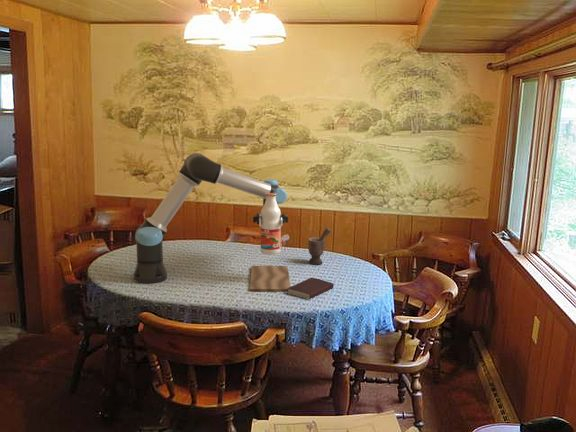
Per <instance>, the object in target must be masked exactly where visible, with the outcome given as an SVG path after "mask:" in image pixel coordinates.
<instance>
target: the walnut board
mask: <svg viewBox="0 0 576 432" xmlns="http://www.w3.org/2000/svg"><path fill="white" fill-rule="evenodd" d="M291 286H292V285H291V280H290V274H289V268H288V265H251V275H250V290H249V291H250V292H252V293H253V292H255V293H256V292H257V293H259V292H260V293H262V292H263V293H264V292H268V293H269V292H270V293H274V292H275V293H278V292H280V293H282V292H283V293H288V288H289V287H291Z"/></svg>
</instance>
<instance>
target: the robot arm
mask: <svg viewBox="0 0 576 432" xmlns="http://www.w3.org/2000/svg"><path fill="white" fill-rule="evenodd" d="M178 176H179V177H178V178H177V180H176V181H175V182H174V184H173V186H171V188H170V189H169V191H168V192H167V194H166V195H165V197H164V198H163V199H162V201H161V202H160V204H159V205H158V207H157V208H156V210H155V211H154V213H153V214H152V215H151V216H150V217H147V218H146V219H145V220H144V221H143V223H142V224H141V225H140V226H138V227H137V229H136V231H135V233H134V239H135V243H136V244H135V245H136V267H135V269H134V273H133V280H136V281H138V282H137V283H139V282H144V283H143V284H157V283H161V282H164V281H165V279H166V280H167V279H168V272H167V269H166V266H165V264H164V260H163V259H164V257H163V256H164V255H163V254H164V253H163V252H164V251H163V250H164V249H163V248H164V247H163V239H164V236H165V235H166V234H167V232H168V229H167V226H168V225H169V223H170V222H171V221H172V219H173V218H174V216H175V215H176V213H177V212H178V211H179V210H180V208H181V206H182V205H183V204H184V203H185V201H186V199H187V198H188V196H189V195H190V193H192V190H193V189H194V188H195V187H198V186H200V184H201V183H202V182H208V183H210V184H213V185H216V184H220V185H224V186H227V187H229V188H233V189H235V190H238V191H241V192H244V193H247V194H250V195H254V196H256V197H259V198H262V199H263V200H262V207H263V206H264V204H265V201H266V193H276V202H277V205H278V206H279V205H281V204H284V203H285V202H286V200H287V199H288V194H287V191H286V190H285V189H284V188H282V187H280V186H279V180H276V179H265V180H263V181H261V180H260V179H259V180H258V179H256V178H253V177H251V176H248V175H245V174H242V173H239V172H237V171H234V170H231V169H228V168H225V167H223V165H222V164H221V163H218V162H216V161H213V160H211V159H210V158H209V157H207V156H205V155H204V154H202V153H196V152H195V153H192V154H190V155H188V156H187V157H185V160H184V161H183V165H182V166H181V168H180V169H179V171H178ZM252 218H253V219H252V222H253V223H256V224H257V225H259V227H261V220H262V216H261V213H258V212H257V213H256V214H255V215H254V216H253V217H252ZM280 222H281V227H283V225H284V224H285V223H287V224H288V223H289V216H287V215H285V213H281V215H280ZM136 281H135V282H136Z"/></svg>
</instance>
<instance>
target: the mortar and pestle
mask: <svg viewBox="0 0 576 432" xmlns="http://www.w3.org/2000/svg"><path fill="white" fill-rule="evenodd" d="M331 231H332V230H331V229H330V228H329V227H326V228H325V229H324V231H323V232H322V234H321V235H320V237H314V236H313V237H309V238H308V245H307V247H308V248H307V249H308V253H309V255H310V256H311V257H310V258H309V260H308V264H309V265H316V266H317V265H323V260H322V259H321V256H322V255H323V254H324V251H325V243H326V240H325V239H326V238H327V236H329V234H330V233H331Z"/></svg>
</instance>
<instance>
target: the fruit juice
mask: <svg viewBox="0 0 576 432" xmlns="http://www.w3.org/2000/svg"><path fill="white" fill-rule="evenodd" d="M281 214H282V213H281V209H280V207H279V204H278V205H277V202H276V193H266V201H265V204H264V206H263V205H262V208H261V210H260V215H261V216H262V220H261V226H260V253H261V254H263V255H273V256H274V255H278V254H280V253H281V250H282V249H281V247H282V246H281V245H282V243H281V239H282V238H281V237H282V235H281V234H282V233H281V232H282V229H281V228H282V226H281V222H280V215H281Z"/></svg>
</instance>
